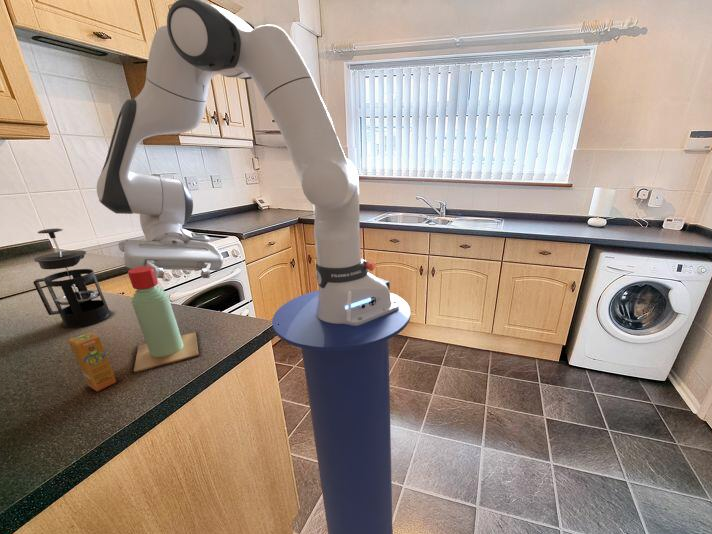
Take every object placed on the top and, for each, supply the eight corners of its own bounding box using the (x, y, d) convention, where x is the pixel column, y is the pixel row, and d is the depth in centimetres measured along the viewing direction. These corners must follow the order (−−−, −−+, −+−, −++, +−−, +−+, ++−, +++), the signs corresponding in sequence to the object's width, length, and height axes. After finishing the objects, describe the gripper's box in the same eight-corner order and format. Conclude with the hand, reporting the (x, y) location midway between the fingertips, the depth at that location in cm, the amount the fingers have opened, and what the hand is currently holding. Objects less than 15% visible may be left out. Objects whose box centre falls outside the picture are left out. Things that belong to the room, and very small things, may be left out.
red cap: (158, 280, 68) (153, 265, 67) (157, 286, 65) (152, 270, 64) (134, 284, 67) (128, 268, 65) (132, 291, 63) (126, 274, 62)
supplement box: (97, 392, 60) (74, 344, 56) (88, 386, 61) (66, 339, 57) (118, 382, 62) (98, 335, 58) (109, 376, 64) (89, 330, 60)
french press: (117, 307, 92) (85, 223, 83) (110, 321, 85) (74, 230, 75) (61, 317, 87) (19, 228, 78) (48, 332, 79) (1, 236, 70)
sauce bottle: (183, 339, 76) (160, 265, 69) (183, 351, 71) (159, 273, 64) (151, 347, 73) (123, 270, 66) (149, 360, 68) (120, 279, 61)
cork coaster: (195, 333, 79) (195, 332, 79) (198, 355, 70) (198, 354, 70) (138, 346, 74) (138, 345, 73) (134, 372, 65) (133, 370, 65)
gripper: (117, 228, 76) (128, 263, 69) (214, 236, 91) (232, 265, 84) (115, 251, 79) (126, 287, 72) (210, 256, 94) (227, 286, 87)
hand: (184, 275), depth 78 cm, fingers open, 8 cm apart
